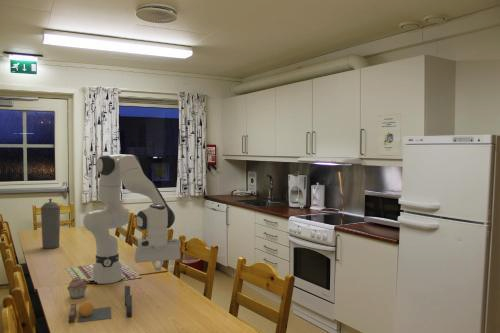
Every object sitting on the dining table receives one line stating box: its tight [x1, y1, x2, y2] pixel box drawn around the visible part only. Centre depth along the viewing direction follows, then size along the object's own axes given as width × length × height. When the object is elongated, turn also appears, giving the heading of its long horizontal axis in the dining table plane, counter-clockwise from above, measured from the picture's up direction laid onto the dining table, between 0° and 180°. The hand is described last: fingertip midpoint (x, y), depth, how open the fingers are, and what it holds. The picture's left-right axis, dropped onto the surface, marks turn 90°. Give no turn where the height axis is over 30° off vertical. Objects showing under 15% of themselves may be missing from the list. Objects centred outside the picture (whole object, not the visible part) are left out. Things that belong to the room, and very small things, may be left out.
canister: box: [40, 198, 61, 250], centre depth 301 cm, size 13×13×35 cm
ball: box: [77, 301, 94, 317], centre depth 180 cm, size 6×6×6 cm
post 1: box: [124, 284, 131, 307], centre depth 193 cm, size 2×2×9 cm
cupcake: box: [66, 275, 88, 299], centre depth 204 cm, size 9×9×10 cm
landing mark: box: [77, 306, 112, 323], centre depth 183 cm, size 13×13×1 cm
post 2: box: [125, 294, 133, 318], centre depth 181 cm, size 2×2×9 cm
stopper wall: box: [68, 303, 77, 324], centre depth 180 cm, size 14×2×3 cm, turn 19°
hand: (157, 270), depth 191 cm, fingers closed
